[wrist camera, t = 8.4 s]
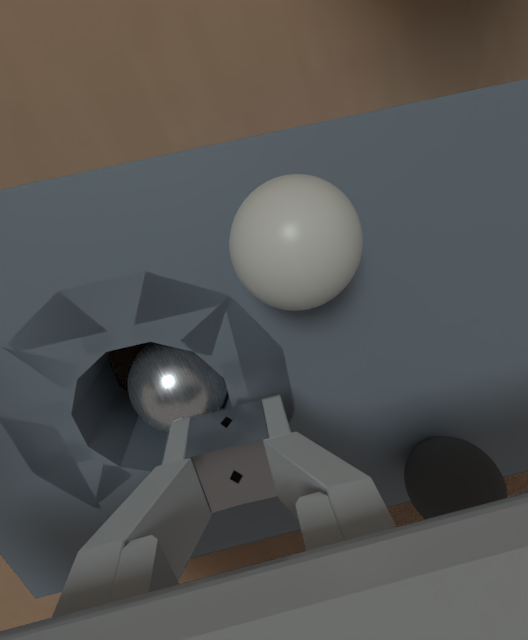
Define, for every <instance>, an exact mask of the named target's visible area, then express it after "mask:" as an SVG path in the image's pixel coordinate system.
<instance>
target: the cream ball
mask: <svg viewBox="0 0 528 640" xmlns="http://www.w3.org/2000/svg"><path fill="white" fill-rule="evenodd" d="M362 249H363V233H362V227H361V223H360V219H359V216H358V214H357V212H356V210H355V208H354V206H353V204H352V203H351V201H350V200H349V199H348V198H347V196H346V195H345V194H344V193H343V192H342V191H341V190H339V189H338V188H337V187H336V186H334V185H333V184H331V183H330V182H328V181H326V180H324V179H322V178H319V177H315V176H311V175H305V174H289V175H283V176H280V177H276V178H273V179H271V180H269V181H267V182H265V183H263V184H262V185H260V186H259V187H257V188H256V189H255V190H254V191H253V192H251V193H250V194H249V196H248V197H247V198H246V199H245V200H244V201H243V203H242V204H241V206H240V207H239V209H238V211H237V213H236V215H235V217H234V220H233V223H232V226H231V231H230V238H229V251H230V257H231V262H232V265H233V268H234V270H235V272H236V274H237V277H238V278H239V280H240V281H241V283H242V285H243V286H244V287H245V288H246V289H247V290H248V291H249V292H250V293H251V294H252V295H253V296H254V297H256V298H257V299H259V300H260V301H261V302H263V303H265V304H267V305H269V306H272V307H275V308H278V309H283V310H292V311H298V310H307V309H311V308H315V307H318V306H320V305H322V304H325V303H326V302H328V301H330V300H332V299H333V298H334V297H336V296H337V295H338V294H339V293H340V292H341V291H342V290H343V289H344V288H345V287H346V286H347V285H348V283H349V282H350V281H351V279H352V278H353V276H354V274H355V272H356V270H357V268H358V265H359V262H360V259H361V255H362Z"/></svg>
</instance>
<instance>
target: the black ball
mask: <svg viewBox="0 0 528 640" xmlns="http://www.w3.org/2000/svg"><path fill="white" fill-rule="evenodd" d="M404 482H405V487H406V490H407V493H408V496H409V498H410V500H411V502H412V504H413V505H414V507H415V508H416V510H417V511H418V512H419V513H420V514H421V515H422V516H423V518H425V519H429V518H433V517H436V516H440V515H444V514H448V513H452V512H455V511H459V510H463V509H467V508H471V507H474V506H478V505H482V504H486V503H490V502H493V501H497V500H501V499H505V498H507V490H506V484H505V481H504V479H503V476H502V474H501V472H500V470H499V468H498V467H497V465H496V464H495V463H494V461H493V460H492V459H491V458H490V457H489V456H488V455H487V454H486V453H485V452H484V451H483V450H481V449H480V448H478V447H477V446H475V445H474V444H472V443H470V442H468V441H466V440H463V439H460V438H456V437H450V436H439V437H433V438H430V439H427V440H425V441H423V442H421V443H420V444H418V445H417V446H416V447H415V448H414V449H413V450H412V451H411V453H410V454H409V456H408V458H407V461H406V464H405V469H404Z"/></svg>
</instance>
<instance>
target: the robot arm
mask: <svg viewBox="0 0 528 640" xmlns="http://www.w3.org/2000/svg"><path fill="white" fill-rule="evenodd" d="M276 496H278V498H279V499H280V501H281V502H282V503H283V504H284V505H285V506H286V507H287V508H288V509H289V510H290V511H291V512H292V513H293V514H294V515H295V516H296V517H297V519H298V520H299V523H300V527H301V532H302V536H303V541H304V545H305V550H306V551H303V552H300V553H296V554H292V555H288V556H284V557H281V558H277V559H273V560H269V561H265V562H262V563H258V564H254V565H250V566H247V567H243V568H239V569H235V570H231V571H228V572H224V573H220V574H216V575H212V576H209V577H205V578H201V579H197V580H193V581H190V582H186V583H182V584H179V582H178V580H179V578H180V576H181V574H182V572H183V570H184V568H185V566H186V565H187V563H188V561H189V559H190V557H191V555H192V553H193V551H194V549H195V547H196V545H197V543H198V541H199V539H200V537H201V535H202V533H203V531H204V529H205V528H206V526H207V524H208V522H209V520H210V518H211V516H212V514H211V513H213V512H217V511H220V510H224V509H227V508H231V507H234V506H238V505H241V504H245V503H249V502H254V501H258V500H263V499H267V498H272V497H276ZM0 640H528V492H527V493H524V494H520V495H516V496H512V497H508V498H505V499H501V500H497V501H493V502H490V503H486V504H482V505H478V506H474V507H471V508H467V509H463V510H459V511H455V512H452V513H448V514H444V515H440V516H436V517H433V518H429V519H425V520H421V521H417V522H414V523H410V524H406V525H402V526H398V527H397V526H396V524H395V522H394V521H393V519H392V517H391V515H390V513H389V511H388V509H387V507H386V505H385V503H384V501H383V500H382V498H381V496H380V494H379V492H378V490H377V488H376V486H375V484H374V482H373V481H372V479H371V477H369V476H368V475H366V474H364V473H363V472H361V471H360V470H358V469H356V468H355V467H353V466H352V465H350V464H348V463H347V462H345V461H343V460H342V459H340V458H339V457H337V456H335V455H334V454H332V453H331V452H329V451H327V450H326V449H324V448H323V447H321V446H319V445H318V444H316V443H314V442H313V441H311V440H310V439H308V438H306V437H305V436H303V435H302V434H300V433H298V432H292V433H291V430H290V427H289V423H288V420H287V416H286V413H285V410H284V406H283V403H282V399H281V396H280V395H279V394H277V395H274V396H270V397H267V398H263V399H262V400H257V401H253V402H249V403H246V404H242V405H238V406H234V407H230V408H224V409H219V410H215V411H210V412H206V413H201V414H197V415H192V416H188V417H184V418H180V419H176V420H173V421H172V423H171V425H170V430H169V435H168V439H167V444H166V449H165V453H164V458H163V463H162V465H160V466H156V467H155V468H154V470H153V471H152V472H151V473H150V474H149V475H148V476H147V477H146V478H145V479H144V480H143V481H142V483H141V484H140V485H139V486H138V487H137V488H136V489H135V490H134V491H133V492H132V493H131V495H130V496H129V497H128V498H127V499H126V500H125V501H124V502H123V503H122V504H121V505H120V507H119V508H118V509H117V510H116V511H115V512H114V513H113V514H112V515H111V516H110V517H109V519H108V520H107V521H106V522H105V523H104V524H103V525H102V526H101V527H100V528H99V529H98V531H97V532H96V533H95V534H94V535H93V536H92V537H91V538H90V539H89V540H88V541H87V543H86V544H85V545H84V546H83V547H82V548H81V549H80V550H79V551H78V553H77V556H76V558H75V561H74V563H73V566H72V568H71V571H70V573H69V576H68V578H67V581H66V583H65V586H64V588H63V591H62V593H61V596H60V598H59V601H58V603H57V606H56V608H55V611H54V613H53V616H52V618H49V619H46V620H42V621H38V622H34V623H30V624H27V625H23V626H19V627H15V628H11V629H8V630H4V631H0Z"/></svg>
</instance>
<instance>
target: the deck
mask: <svg viewBox="0 0 528 640" xmlns="http://www.w3.org/2000/svg"><path fill="white" fill-rule="evenodd" d="M289 174H305V175H311V176H315V177H319V178H322V179H324V180H326V181H328V182H330V183H331V184H333V185H334V186H336V187H337V188H338V189H339V190H341V191H342V192H343V193H344V194H345V195H346V196H347V198H348V199H349V200H350V201H351V203H352V204H353V206H354V208H355V210H356V212H357V214H358V216H359V219H360V223H361V227H362V233H363V249H362V255H361V259H360V262H359V265H358V268H357V270H356V272H355V274H354V276H353V278H352V279H351V281H350V282H349V283H348V285H347V286H346V287H345V288H344V289H343V290H342V291H341V292H340V293H339V294H338V295H337V296H336V297H334V298H333V299H332V300H330V301H328V302H326V303H325V304H322V305H320V306H318V307H315V308H311V309H307V310H298V311H292V310H283V309H278V308H275V307H272V306H269V305H267V304H265V303H263V302H261V301H260V300H259V299H257V298H256V297H254V296H253V295H252V294H251V293H250V292H249V291H248V290H247V289H246V288H245V287H244V286H243V285H242V283H241V281H240V280H239V278H238V277H237V274H236V272H235V270H234V268H233V265H232V262H231V257H230V251H229V238H230V231H231V226H232V223H233V220H234V217H235V215H236V213H237V211H238V209H239V207H240V206H241V204H242V203H243V201H244V200H245V199H246V198H247V197H248V196H249V194H250V193H251V192H253V191H254V190H255V189H256V188H257V187H259V186H260V185H262V184H263V183H265V182H267V181H269V180H271V179H273V178H276V177H280V176H283V175H289ZM147 342H154V343H158V344H162V345H166V346H171V347H175V348H179V349H183V350H187V351H192V352H194V353H196V354H197V355H198V356H199V357H200V358H201V359H203V360H204V361H205V362H206V363H207V364H208V365H209V366H211V367H212V368H213V369H214V370H215V371H216V372H217V373H219V374H220V375H221V376H222V377H223V378H224V380H225V383H226V387H227V390H228V392H227V396H226V398H225V401H224V403H223V405H222V407H221V408H220V409H224V408H230V407H234V406H238V405H242V404H246V403H249V402H253V401H257V400H262V399H263V398H267V397H270V396H274V395H277V394H279V395H280V396H281V399H282V403H283V406H284V410H285V413H286V416H287V420H288V423H289V427H290V430H291V433H292V432H298V433H300V434H302V435H303V436H305V437H306V438H308V439H310V440H311V441H313V442H314V443H316V444H318V445H319V446H321V447H323V448H324V449H326V450H327V451H329V452H331V453H332V454H334V455H335V456H337V457H339V458H340V459H342V460H343V461H345V462H347V463H348V464H350V465H352V466H353V467H355V468H356V469H358V470H360V471H361V472H363V473H364V474H366V475H368V476H369V477H371V479H372V481H373V482H374V484H375V486H376V488H377V490H378V492H379V494H380V496H381V498H382V500H383V501H384V503H385V505H386V507H390V506H394V505H398V504H402V503H406V502H409V501H411V500H410V498H409V496H408V493H407V490H406V487H405V482H404V469H405V464H406V461H407V458H408V456H409V454H410V453H411V451H412V450H413V449H414V448H415V447H416V446H417V445H418V444H420V443H421V442H423V441H425V440H427V439H430V438H433V437H439V436H450V437H456V438H460V439H463V440H466V441H468V442H470V443H472V444H474V445H475V446H477V447H478V448H480V449H481V450H483V451H484V452H485V453H486V454H487V455H488V456H489V457H490V458H491V459H492V460H493V461H494V463H495V464H496V465H497V467H498V468H499V470H500V472H501V474H502V476H503V477H506V476H510V475H513V474H517V473H521V472H525V471H528V79H523V80H519V81H514V82H509V83H504V84H500V85H495V86H490V87H485V88H481V89H476V90H471V91H466V92H462V93H457V94H452V95H447V96H443V97H438V98H433V99H428V100H424V101H419V102H414V103H409V104H405V105H400V106H395V107H390V108H386V109H381V110H376V111H371V112H367V113H362V114H357V115H352V116H348V117H343V118H338V119H333V120H329V121H324V122H319V123H314V124H310V125H305V126H300V127H295V128H291V129H286V130H281V131H276V132H272V133H267V134H262V135H257V136H253V137H248V138H243V139H238V140H234V141H229V142H224V143H219V144H215V145H210V146H205V147H200V148H196V149H191V150H186V151H181V152H177V153H172V154H167V155H162V156H158V157H153V158H148V159H143V160H139V161H134V162H129V163H124V164H120V165H115V166H110V167H105V168H100V169H96V170H91V171H86V172H81V173H77V174H72V175H67V176H62V177H58V178H53V179H48V180H43V181H39V182H34V183H29V184H24V185H20V186H15V187H10V188H5V189H1V190H0V554H1V555H2V557H3V558H4V559H5V560H6V562H7V563H8V564H9V566H10V567H11V568H12V569H13V571H14V572H15V573H16V574H17V576H18V577H19V578H20V579H21V581H22V582H23V583H24V585H25V586H26V587H27V588H28V590H29V591H30V592H31V593H32V595H33V596H34V597H35V599H36V598H39V597H43V596H47V595H51V594H55V593H59V592H62V591H63V588H64V586H65V583H66V581H67V578H68V576H69V573H70V571H71V568H72V566H73V563H74V561H75V558H76V556H77V553H78V551H79V550H80V549H81V548H82V547H83V546H84V545H85V544H86V543H87V541H88V540H89V539H90V538H91V537H92V536H93V535H94V534H95V533H96V532H97V531H98V529H99V528H100V527H101V526H102V525H103V524H104V523H105V522H106V521H107V520H108V519H109V517H110V516H111V515H112V514H113V513H114V512H115V511H116V510H117V509H118V508H119V507H120V505H121V504H122V503H123V502H124V501H125V500H126V499H127V498H128V497H129V496H130V495H131V493H132V492H133V491H134V490H135V489H136V488H137V487H138V486H139V485H140V484H141V483H142V481H143V480H144V479H145V478H146V477H147V476H148V475H149V474H150V473H151V472H152V471H153V470H154V468H155V467H156V466H160V465H162V463H163V458H164V453H165V449H166V444H167V439H168V435H169V432H168V431H163V430H160V429H157V428H155V427H153V426H151V425H149V424H148V423H147V422H145V421H144V420H143V419H142V418H141V417H140V416H139V415H138V414H137V412H136V411H135V409H134V407H133V405H132V404H131V401H130V398H129V393H128V391H126V390H125V389H124V388H122V387H121V386H120V385H119V383H118V381H117V379H116V376H115V374H114V372H113V369H112V367H111V365H110V363H109V360H108V357H109V352H110V351H112V350H116V349H121V348H125V347H129V346H134V345H138V344H142V343H147ZM211 514H212V516H211V518H210V520H209V522H208V524H207V526H206V528H205V529H204V531H203V533H202V535H201V537H200V539H199V541H198V543H197V545H196V547H195V549H194V551H193V553H192V555H191V557H190V558H194V557H197V556H201V555H205V554H209V553H213V552H217V551H221V550H224V549H228V548H232V547H236V546H240V545H244V544H248V543H251V542H255V541H259V540H263V539H267V538H271V537H275V536H278V535H282V534H286V533H290V532H294V531H298V530H301V527H300V523H299V520H298V519H297V517H296V516H295V515H294V514H293V513H292V512H291V511H290V510H289V509H288V508H287V507H286V506H285V505H284V504H283V503H282V502H281V501H280V499H279V498H278V496H276V497H272V498H267V499H263V500H258V501H254V502H249V503H245V504H241V505H238V506H234V507H231V508H227V509H224V510H220V511H217V512H213V513H211Z"/></svg>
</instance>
